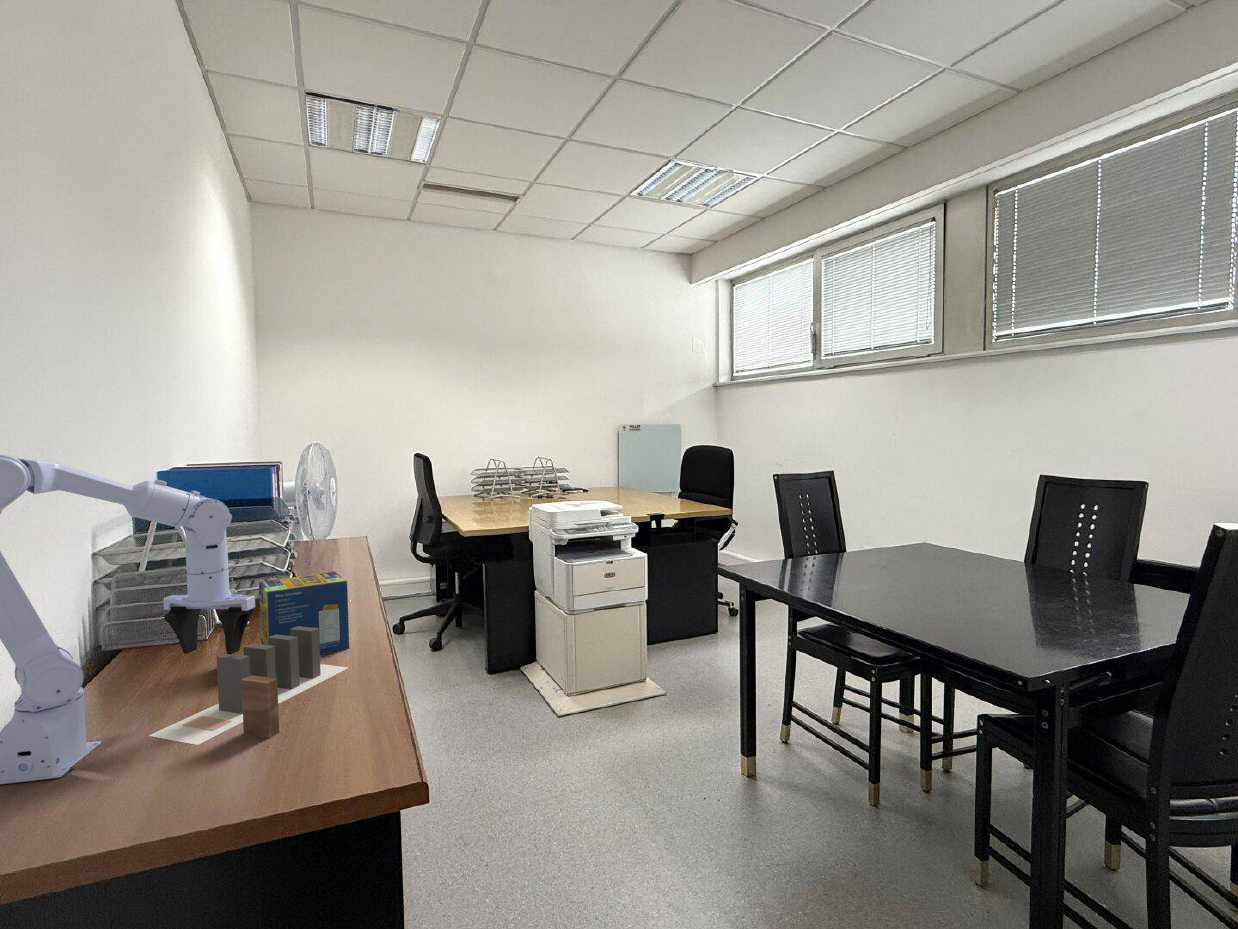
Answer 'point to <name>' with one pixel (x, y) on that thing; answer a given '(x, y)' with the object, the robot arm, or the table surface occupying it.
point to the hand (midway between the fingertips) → (211, 652)
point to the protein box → (307, 608)
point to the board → (230, 714)
